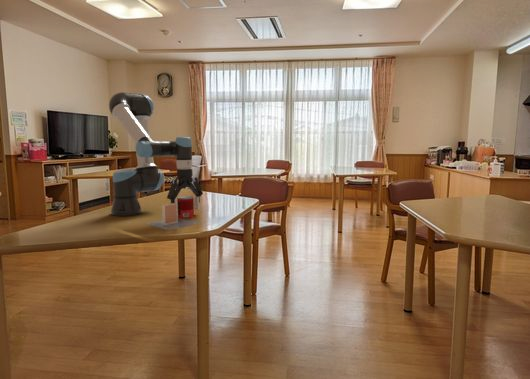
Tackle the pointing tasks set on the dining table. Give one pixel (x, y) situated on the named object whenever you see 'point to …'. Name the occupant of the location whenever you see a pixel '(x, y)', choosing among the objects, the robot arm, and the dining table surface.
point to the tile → (169, 213)
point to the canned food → (185, 206)
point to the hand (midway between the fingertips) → (186, 211)
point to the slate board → (179, 224)
